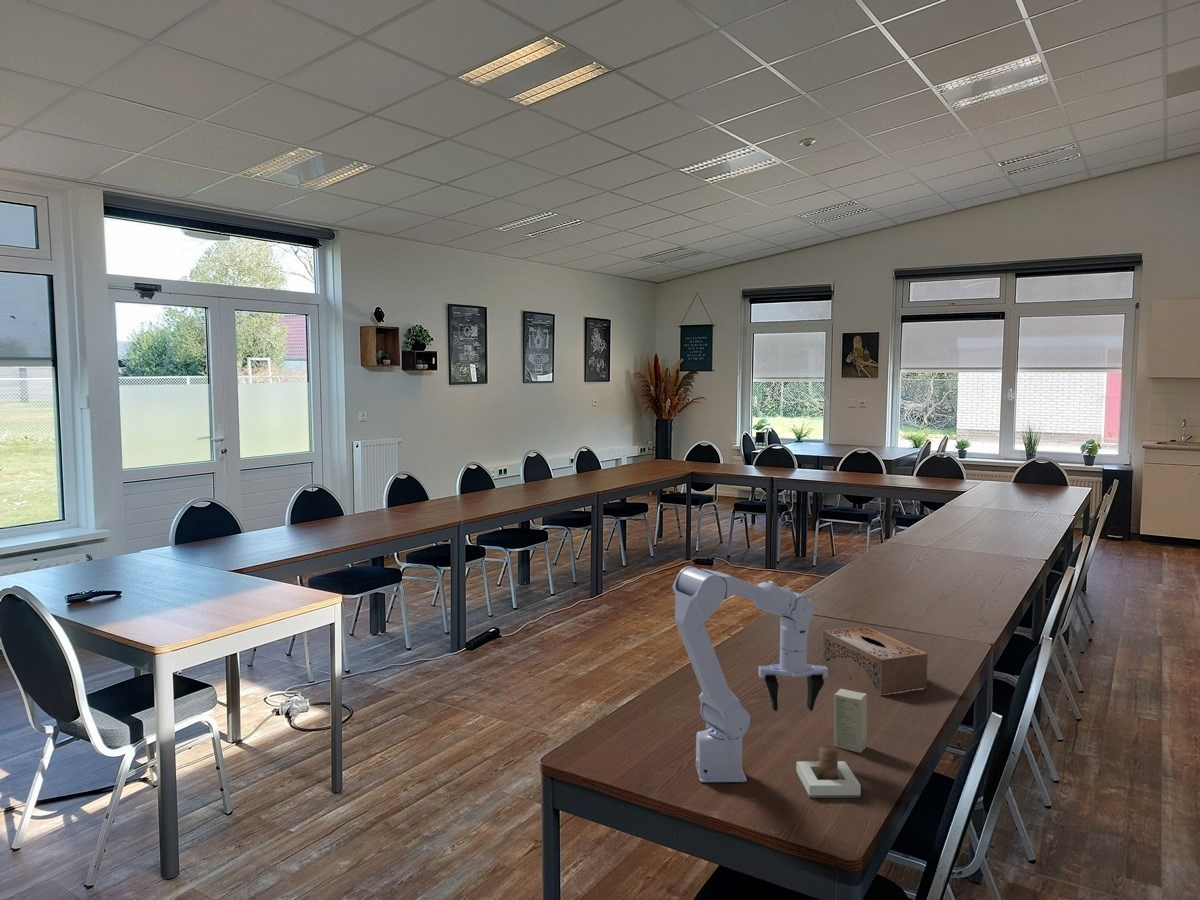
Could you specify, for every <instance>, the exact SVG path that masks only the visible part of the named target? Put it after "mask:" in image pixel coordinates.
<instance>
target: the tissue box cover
mask: <svg viewBox="0 0 1200 900" xmlns="http://www.w3.org/2000/svg"><path fill="white" fill-rule="evenodd" d="M822 635H823V636H822V637H823V638H822V639H823V640H822V664H823V665H824V664H825V665H824V666H826V665H827V666H826V667H828V666H829V667H831V668H832V669H831V668H830V669H831V670H833V669H834V670H833V671H835V670H836V671H838V672H840V673H842V674H843V675H845V676H847V677H849V678H851V679H852V680H854V681H856V682H858V683H860V684H862V685H863V686H865V687H867V688H869V689H871V690H873V691H875V692H877V693H879V694H880V695H882V694H888V693H894V692H899V691H906V690H912V689H919V688H925V687H927V684H928V683H927V680H928V655H929V654H928V653H927V652H925V651H922V650H921V649H918V648H916V647H913V646H911V645H909V644H907V643H904V642H902V641H900V640H899V639H896V638H893V637H891V636H889V635H887V634H885V633H882V632H880V631H878V630H876V629H874V628H871V627H869V626H867V625H863V626H862V625H861V626H854V627H846V628H845V627H844V628H838V629H829V630H828V629H827V630H823V633H822ZM829 667H828V668H829ZM836 671H835V672H836ZM838 672H837V673H838ZM840 673H839V674H840ZM842 674H841V675H842ZM843 675H842V676H843ZM845 676H844V677H845ZM847 677H846V678H847ZM849 678H848V679H849ZM851 679H850V680H851ZM852 680H851V681H852ZM854 681H853V682H854ZM856 682H855V683H856ZM858 683H857V684H858ZM863 686H862V687H863ZM865 687H864V688H865Z"/></svg>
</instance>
